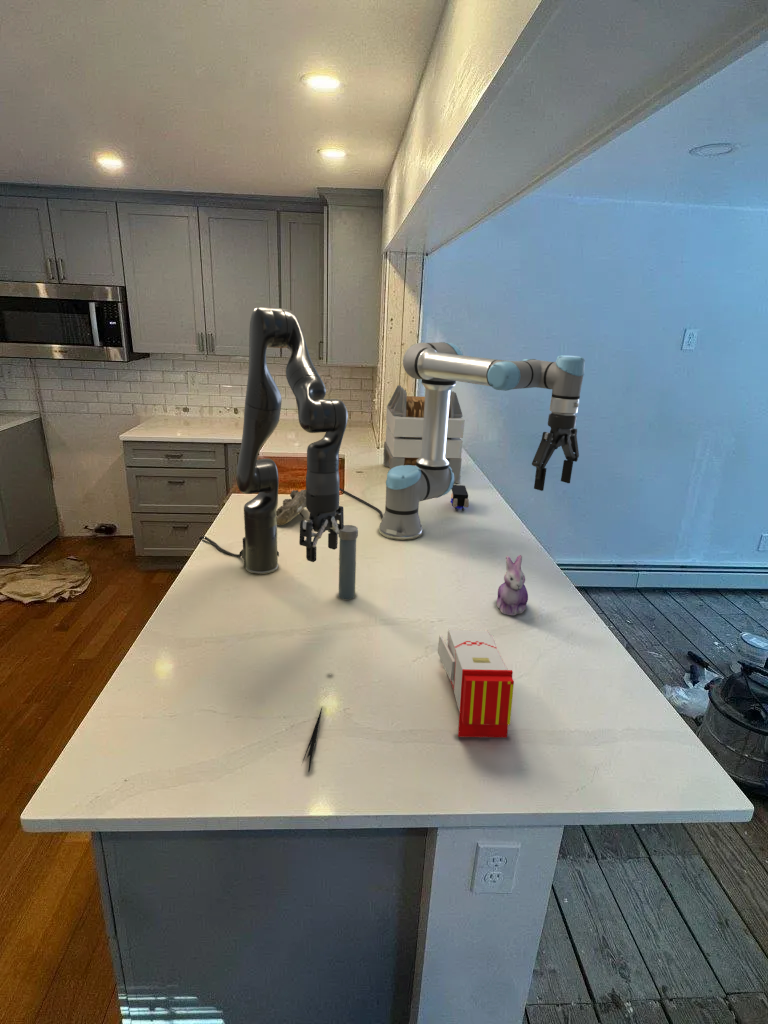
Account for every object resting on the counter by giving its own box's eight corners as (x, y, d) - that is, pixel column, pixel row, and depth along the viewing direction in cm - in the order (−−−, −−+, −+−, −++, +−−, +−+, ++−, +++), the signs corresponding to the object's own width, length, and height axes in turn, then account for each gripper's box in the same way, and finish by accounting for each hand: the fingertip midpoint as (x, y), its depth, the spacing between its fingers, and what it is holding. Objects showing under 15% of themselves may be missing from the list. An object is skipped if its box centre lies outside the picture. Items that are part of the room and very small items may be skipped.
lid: (361, 535, 151) (361, 527, 150) (351, 541, 147) (351, 533, 146) (344, 531, 153) (345, 523, 152) (334, 537, 149) (335, 529, 148)
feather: (331, 679, 122) (336, 673, 122) (307, 777, 96) (313, 769, 95) (324, 675, 122) (329, 669, 121) (298, 772, 95) (304, 764, 95)
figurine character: (468, 516, 224) (463, 500, 237) (471, 498, 221) (465, 483, 234) (452, 515, 224) (447, 499, 237) (453, 498, 220) (449, 482, 234)
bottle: (357, 594, 157) (360, 529, 150) (349, 601, 153) (351, 534, 146) (344, 590, 159) (345, 525, 152) (335, 596, 155) (336, 530, 148)
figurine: (510, 620, 147) (517, 567, 142) (486, 602, 155) (492, 552, 150) (538, 612, 151) (545, 561, 146) (513, 595, 159) (519, 546, 154)
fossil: (279, 495, 220) (308, 475, 215) (295, 514, 223) (324, 494, 218) (263, 521, 201) (295, 499, 196) (281, 540, 203) (313, 519, 198)
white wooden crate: (382, 463, 289) (386, 382, 275) (445, 464, 293) (451, 384, 279) (390, 482, 257) (394, 392, 243) (460, 483, 261) (468, 394, 247)
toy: (488, 613, 130) (523, 677, 101) (484, 667, 133) (517, 744, 104) (435, 612, 130) (455, 676, 101) (432, 666, 133) (451, 743, 103)
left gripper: (327, 478, 135) (326, 541, 141) (289, 493, 123) (290, 561, 129) (353, 484, 132) (352, 548, 137) (317, 500, 120) (317, 569, 125)
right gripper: (548, 419, 148) (537, 496, 155) (598, 411, 163) (586, 482, 171) (525, 414, 153) (515, 489, 160) (575, 407, 169) (564, 476, 176)
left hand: (322, 554), depth 133 cm, fingers open, 8 cm apart
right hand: (552, 485), depth 166 cm, fingers open, 13 cm apart
